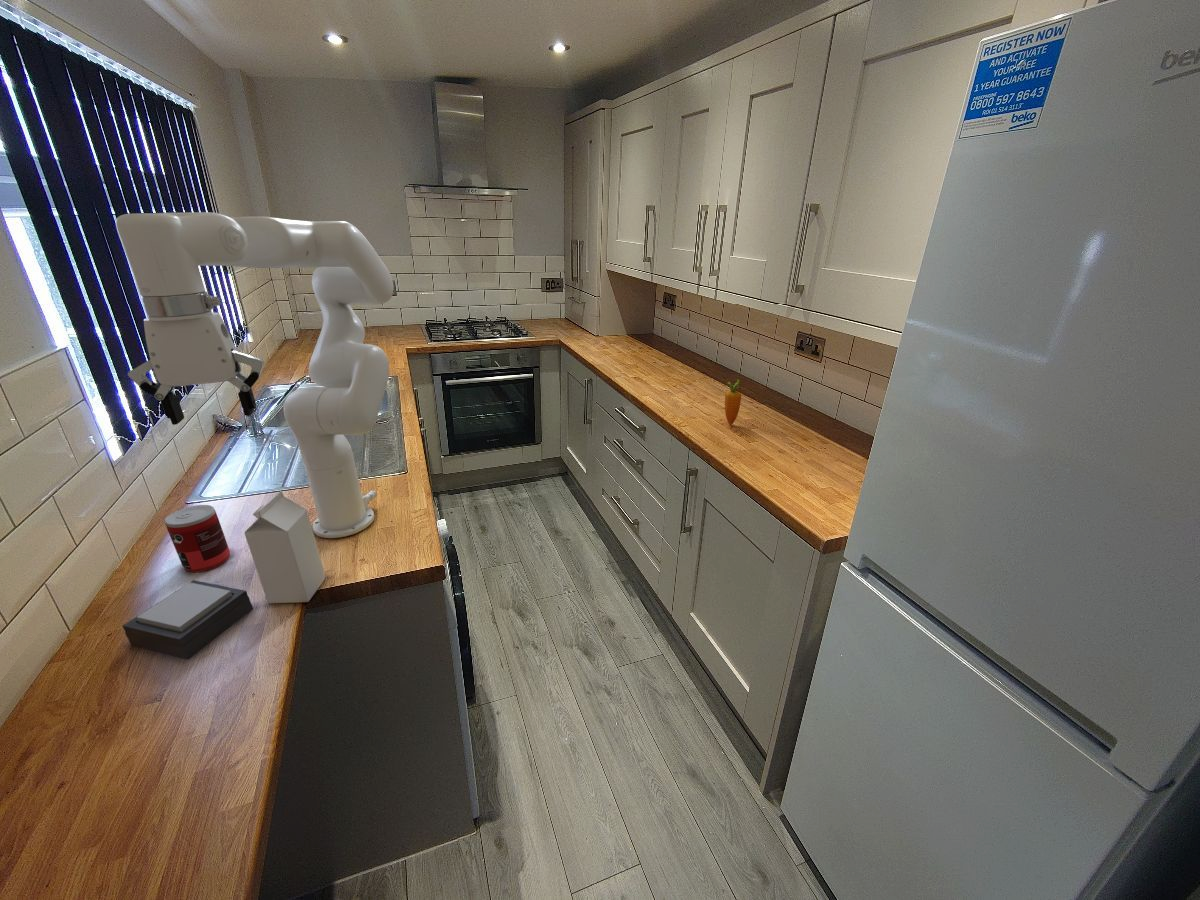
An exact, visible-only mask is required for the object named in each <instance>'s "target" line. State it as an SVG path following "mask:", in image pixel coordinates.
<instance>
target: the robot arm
mask: <svg viewBox="0 0 1200 900" xmlns="http://www.w3.org/2000/svg"><path fill="white" fill-rule="evenodd" d="M115 227H116V231H117V234H118V237H119V240H120V242H121V245H122V248H123V252H124V254H125V257H126V259H127V262H128V265H129V268H130V270H131V274H132V276H133V280H134V282H135V284H136V287H137V289H138V293H139V296H140V298H141V301H142V305H143V307H144V310H145V312H146V315H147V318H144V319H143V327H144V335H145V336H144V337H145V341H146V342H145V343H146V347H147V351H148V355H149V359H148V360H147V361H145V362H143V363H142V364H140V365H138V366H137V367H136V366H135V368H133V369H131V370H130V371H128V372H127V377H128V378H129V379H131V380H132V381H133V382H134V383H135V384H136V385H137V386H139V388H140V389H141V390H142V391H143V392H146V393H147V394H149V395H150V396H153V397H154V398H155V400H157V401H160V404H161V406H162V409H163V412H164V414H165V418H167V419H170V422H171V424H172V425H173V426H175V425H178V424H180V423H181V422H182V421H183V420H184V419H185V415H184V412H183V409H182V406H181V404H180V403H181V402H180V400H179V398H178V395H176V394H175V393H173V391H174V389H175V387H184V386H195V385H197V386H198V385H205V384H207V385H208V384H217V383H224V382H229V383H230V384H232V385H233V386H234V387H236V388H237V389H239V391H238V392H237V395H238V399H239V402H240V405H241V409H242V411H243V415H244V416H245V417H251V416H252V415H253V414H254V412H255V409H257V401H256V399H255V395H254V392H253V389H252V387H253V386H254V385H255V384H256V382H257V381H258V380H259V378H260V377H261V376H262V375H261V374H262V371H263V369H264V366H265V365H264V364H265V361H264V359H262V358H260V357H257V356H254V355H250V354H247V353H244V352H242V351H241V352H240V351H238V350H237V348H236V346H235V344H234V341H233V339H232V336H231V334H230V332H229V330H228V328H227V325H226V324H225V321H224V320H223V318H222V315H221V314H220V313H219V312H212V310H213V308H215V307H218V306H221V300H220V298H219V297H220V296H216V295H215V296H213V295H210V294H209V293H208V291H206V289H205V284H204V281H203V279H202V275H201V273H200V269H199V266H200V267H201V266H203V267H221V266H222V267H224V266H225V267H242V268H253V269H292V268H293V269H294V268H295V269H296V268H297V269H298V268H299V269H300V268H301V269H303V268H304V269H305V268H306V269H307V268H308V269H309V268H315V270H314V271H313V273H312V275H311V287H312V291H313V293H314V296H315V299H316V301H317V303H318V306H319V309H320V312H321V316H322V327H321V330H320V333H319V335H318V338H317V341H316V344H315V346H314V349H313V352H312V354H311V357H310V360H309V364H308V376H309V378H310V380H311V381H312V382H313V383H314V384H316V385H317V386H307V387H301V388H298V389H295V390H293V391H292V392H290V393H289V394H288V395H287V396H286V398H285V400H284V403H283V408H282V409H283V416H284V419H285V421H286V424H287V427H288V428H289V429H290V431H291V433H292V435H293V437H294V439H295V441H296V444H297V446H298V449H299V453H300V456H301V459H302V463H303V467H304V470H305V474H306V478H307V482H308V486H309V490H310V492H311V497H312V501H313V504H314V507H315V511H316V514H317V518H315V520H314V521H313V523H312V525H311V527H312V530H313V534H314V535H315V536H317V537H320V538H324V539H339V538H344V537H348V536H352V535H355V534H357V533H360V532H362V531H363V530H365V529H367V528H368V527H369V526H371V524H373V522H374V520H375V513H374V510H373V509H372V508H371V507H369V505H370V502H371V501H372V500H374V499H375V498H377V496H378V494H377V492H376V490H374V489H371V490H370V491H368V492H367V493H365V494H364V493H363V492H362V489H361V484H360V481H359V476H358V470H357V467H356V463H355V458H354V453H353V449H352V446H351V444H350V442H349V440H348V439H347V437H346V436H362V435H365V434H368V433H369V432H370V431H371V430H372V429H374V427H375V424H376V422H377V419H378V416H379V413H380V411H381V406H382V403H383V400H384V396H385V393H386V390H387V386H388V384H389V379H390V362H389V358H388V356H387V354H386V352H385V350H383V349H382V348H381V347H379V346H378V345H376V344H371V343H364V341H365V338H366V329H365V327H364V325H363V322H362V321H361V319H360V318H359V317H358V315H357V313H356V312H355V311H354V309H353V307H352V306H351V305H369V306H371V305H383V304H385V303H388V302H389V301H390V300H391V299H392V297H393V295H394V290H395V289H394V288H395V287H394V281H393V277H392V275H391V272H390V270H389V269H388V267H387V266H386V264H385V262H384V261H383V260H382V259H381V257H380V255H379V254H378V253H377V251H376V250H375V247H373V246H372V244H371V243H370V242H369V240H368V238H366V237H365V235H364V234H363V233H362V232H361V230H359V229H358V228H357V227H356V226H355V225H353V224H352V223H350V222H348V221H344V220H327V221H321V220H320V221H319V220H317V221H315V220H312V221H311V220H299V219H288V218H281V217H273V216H262V215H261V216H260V215H259V216H257V215H256V216H236V217H235V216H234V217H229V216H228V215H224V214H222V213H218V212H212V211H211V212H210V211H197V212H196V211H195V212H194V211H193V212H192V211H190V212H189V211H188V212H186V211H185V212H157V213H155V212H154V213H149V212H148V213H147V212H146V213H143V212H142V213H141V212H140V213H125V214H120V215H119V216H117V217H116V220H115ZM242 364H244V365H247V366H250V368H251V369H250V374H249V375H248V376H245V375H244V374H243V373H242V370H243V369H242V368H243V367H242ZM151 370H153V373H154V374H155V378H156V379H157V381H158V383H159V384H158V383H156V382H154V381H153V380H150V379H149V377H148V376H147V375H146V374H147V373H149V372H150V371H151Z"/></svg>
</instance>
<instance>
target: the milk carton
mask: <svg viewBox="0 0 1200 900" xmlns="http://www.w3.org/2000/svg"><path fill="white" fill-rule="evenodd" d="M252 516H254V517H255V518H256V519H255V521H254V522H253V523H252V524H251V525H250V526H249V527H248V528H247V529H246V530H245V532H244V536H245V539H246V542H247V545H248V548H249V552H250V554H251V556H252V560H253V563H254V565H255V569H256V572H257V575H258V577H259V580H260V584H261V586H262V589H263V592H264V595H265V598H266V601H267V604H291V603H309V602H310V600H311V599H312V598H313V596H314V595H315V594H316V592H317V591H318V590H319V588H320V587H321V586H322V584H323V582H324V581H325V580H326V574H325V570H324V566H323V563H322V562H323V561H322V558H321V555H320V553H319V552H320V551H319V548H318V545H317V541H316V538H315V533H314V531H313V528H312V523H311V520H310V517H309V512H308V509H307V508H305V507H303V506H301V504H298V503H296V502H295V501H293V500H292V499H289V498H288V497H286V496H284V494H283V490H279V491H278V492H277V493H276V494H275V495H274V496H273V497H272V498H271V499H270V500H268V501H267V502H266V503H265V504H262V505H260V506H259V507H258V509H256V510H255V511H254V512H253V513H252Z"/></svg>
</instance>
